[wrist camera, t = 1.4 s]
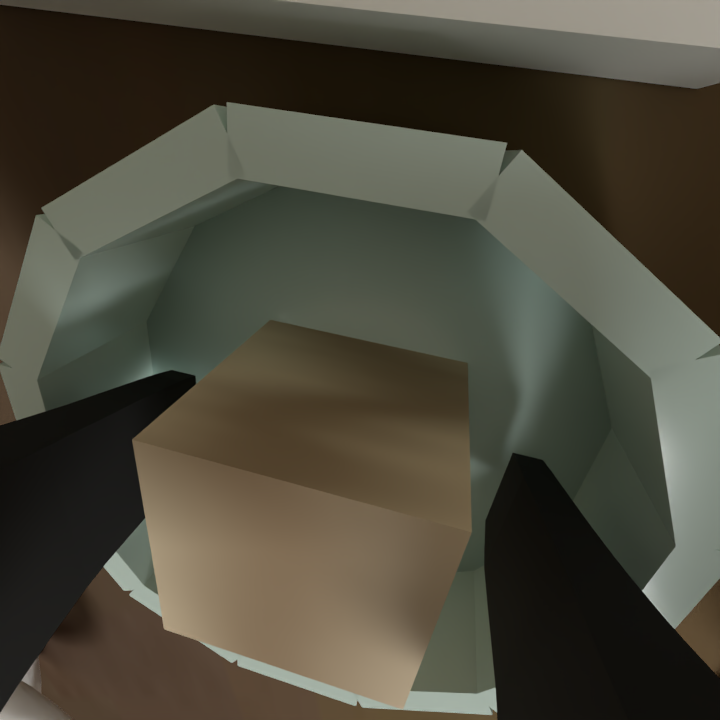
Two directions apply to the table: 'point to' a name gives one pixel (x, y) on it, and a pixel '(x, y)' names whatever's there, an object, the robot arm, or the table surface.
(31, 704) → the mug
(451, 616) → the green bowl
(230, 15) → the white tray
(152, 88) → the table surface
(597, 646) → the robot arm
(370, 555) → the maple block
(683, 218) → the table surface
